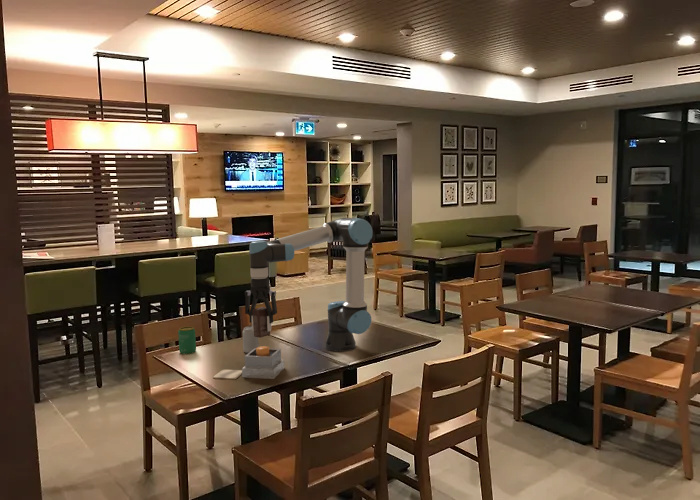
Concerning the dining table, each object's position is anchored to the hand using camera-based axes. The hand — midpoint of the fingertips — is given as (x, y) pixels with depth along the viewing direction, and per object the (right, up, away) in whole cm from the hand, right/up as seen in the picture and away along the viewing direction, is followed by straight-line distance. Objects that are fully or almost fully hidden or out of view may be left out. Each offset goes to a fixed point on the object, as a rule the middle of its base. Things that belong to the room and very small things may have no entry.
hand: (261, 330), depth 242 cm
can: (-11, -15, +34) cm, 38 cm away
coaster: (-14, -19, 0) cm, 24 cm away
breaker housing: (0, -19, +2) cm, 19 cm away
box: (0, -3, 0) cm, 3 cm away
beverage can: (-42, -16, +35) cm, 57 cm away
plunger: (0, -11, +1) cm, 11 cm away
